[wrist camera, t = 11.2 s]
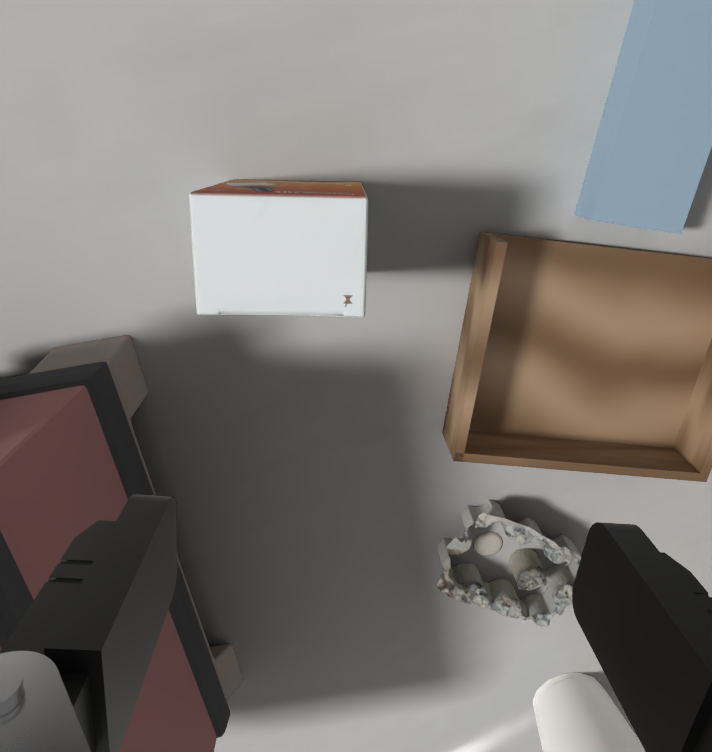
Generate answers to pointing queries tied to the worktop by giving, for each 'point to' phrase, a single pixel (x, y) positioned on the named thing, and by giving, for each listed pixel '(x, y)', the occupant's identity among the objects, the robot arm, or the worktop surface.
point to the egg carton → (523, 563)
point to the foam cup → (581, 717)
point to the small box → (280, 248)
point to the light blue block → (654, 120)
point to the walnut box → (584, 360)
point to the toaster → (85, 507)
